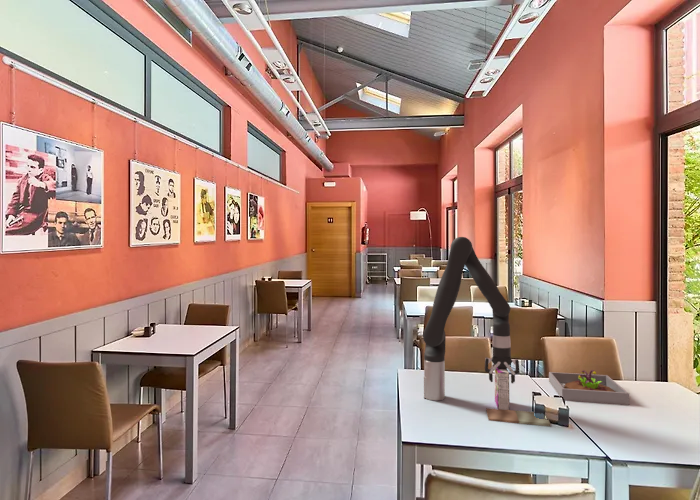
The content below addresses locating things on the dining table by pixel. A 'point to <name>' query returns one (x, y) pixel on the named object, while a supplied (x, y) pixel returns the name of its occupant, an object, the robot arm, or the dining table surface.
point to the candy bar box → (502, 388)
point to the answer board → (515, 417)
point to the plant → (587, 383)
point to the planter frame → (589, 395)
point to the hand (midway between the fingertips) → (501, 382)
